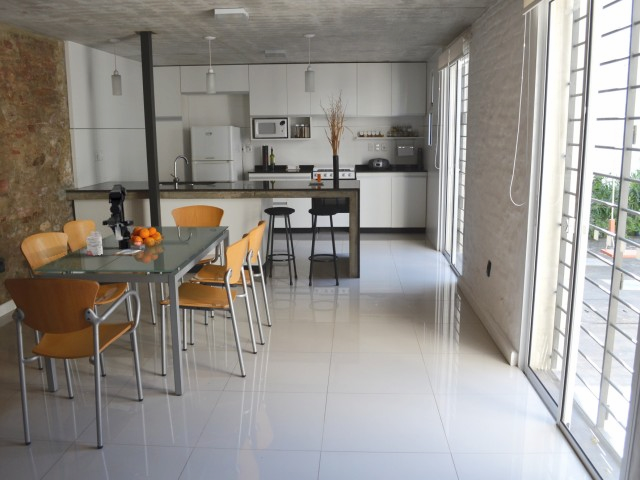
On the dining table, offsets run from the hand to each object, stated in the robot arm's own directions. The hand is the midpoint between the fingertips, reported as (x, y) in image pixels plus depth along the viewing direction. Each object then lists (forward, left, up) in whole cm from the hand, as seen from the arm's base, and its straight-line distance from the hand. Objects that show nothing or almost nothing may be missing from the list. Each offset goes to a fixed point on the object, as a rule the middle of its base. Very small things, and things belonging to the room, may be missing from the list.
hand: (119, 236), depth 377 cm
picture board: (0, +9, -13) cm, 15 cm away
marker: (0, 0, -2) cm, 2 cm away
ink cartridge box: (-20, +2, -13) cm, 24 cm away
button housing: (0, +20, -13) cm, 24 cm away
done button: (0, +20, -10) cm, 23 cm away
